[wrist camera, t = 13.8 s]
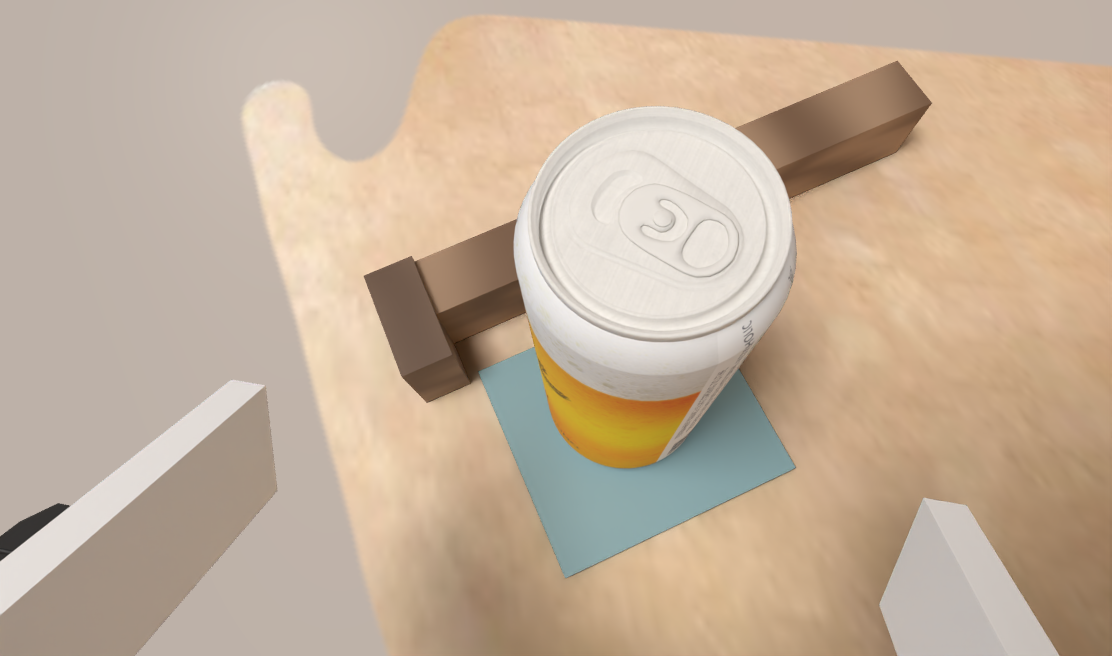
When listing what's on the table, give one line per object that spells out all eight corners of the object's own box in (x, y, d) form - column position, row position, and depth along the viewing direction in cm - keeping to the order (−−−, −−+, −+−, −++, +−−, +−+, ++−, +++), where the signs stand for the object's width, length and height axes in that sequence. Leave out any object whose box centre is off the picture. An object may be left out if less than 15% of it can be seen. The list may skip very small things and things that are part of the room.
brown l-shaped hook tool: (865, 113, 32) (902, 52, 28) (920, 185, 30) (967, 131, 27) (392, 313, 29) (363, 276, 26) (426, 402, 28) (401, 376, 24)
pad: (686, 282, 29) (687, 279, 29) (793, 468, 26) (796, 467, 26) (479, 373, 28) (478, 371, 28) (565, 578, 25) (565, 578, 25)
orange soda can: (600, 303, 29) (611, 48, 15) (723, 376, 27) (866, 173, 13) (520, 417, 27) (447, 254, 13) (646, 501, 26) (717, 420, 12)
